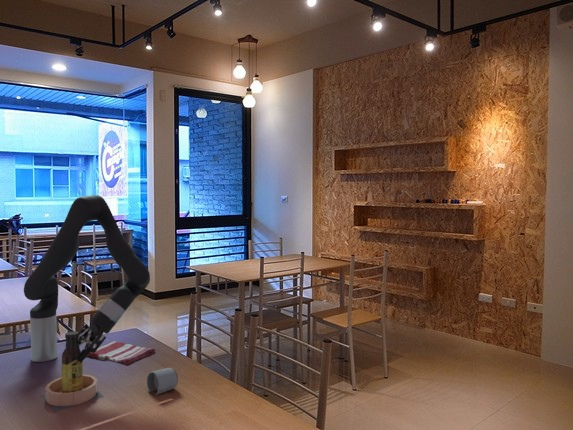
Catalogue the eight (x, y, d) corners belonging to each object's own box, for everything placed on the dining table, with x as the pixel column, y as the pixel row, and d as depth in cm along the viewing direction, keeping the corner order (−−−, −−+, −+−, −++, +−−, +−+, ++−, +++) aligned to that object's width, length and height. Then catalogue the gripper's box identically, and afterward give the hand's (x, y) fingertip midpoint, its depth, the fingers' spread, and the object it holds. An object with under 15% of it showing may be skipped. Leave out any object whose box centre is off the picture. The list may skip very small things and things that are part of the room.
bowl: (40, 395, 155) (39, 383, 154) (87, 382, 165) (86, 370, 165) (55, 411, 144) (54, 398, 143) (104, 396, 154) (104, 384, 154)
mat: (40, 396, 155) (40, 395, 155) (87, 383, 165) (87, 382, 165) (55, 413, 144) (55, 411, 144) (104, 398, 154) (104, 396, 154)
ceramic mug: (179, 390, 160) (179, 368, 160) (158, 398, 154) (158, 375, 154) (161, 382, 167) (161, 360, 167) (141, 389, 161) (140, 367, 161)
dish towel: (125, 367, 181) (125, 360, 181) (82, 356, 192) (82, 350, 191) (155, 353, 196) (155, 347, 196) (114, 344, 207) (114, 338, 207)
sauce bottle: (74, 398, 151) (73, 337, 149) (57, 396, 152) (55, 335, 151) (87, 389, 157) (86, 330, 156) (70, 387, 158) (69, 329, 157)
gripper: (91, 305, 164) (57, 345, 157) (108, 314, 154) (72, 357, 147) (107, 317, 168) (74, 357, 161) (124, 326, 158) (90, 369, 151)
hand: (73, 357), depth 154 cm, fingers open, 8 cm apart
